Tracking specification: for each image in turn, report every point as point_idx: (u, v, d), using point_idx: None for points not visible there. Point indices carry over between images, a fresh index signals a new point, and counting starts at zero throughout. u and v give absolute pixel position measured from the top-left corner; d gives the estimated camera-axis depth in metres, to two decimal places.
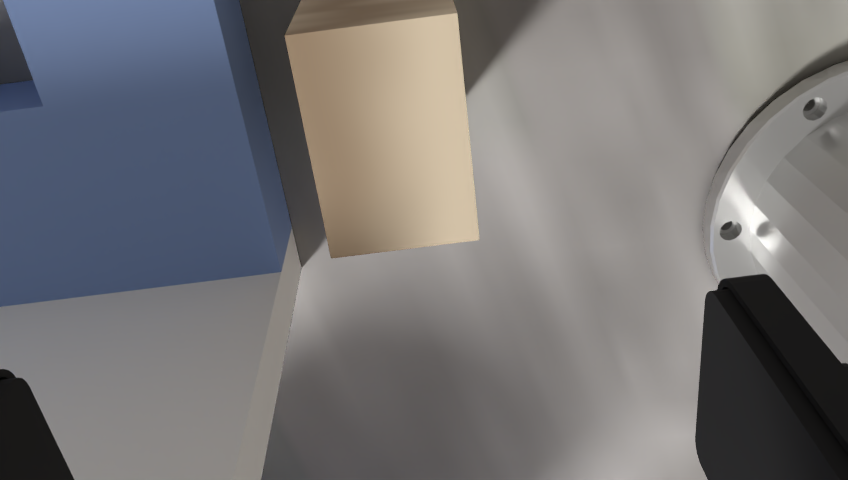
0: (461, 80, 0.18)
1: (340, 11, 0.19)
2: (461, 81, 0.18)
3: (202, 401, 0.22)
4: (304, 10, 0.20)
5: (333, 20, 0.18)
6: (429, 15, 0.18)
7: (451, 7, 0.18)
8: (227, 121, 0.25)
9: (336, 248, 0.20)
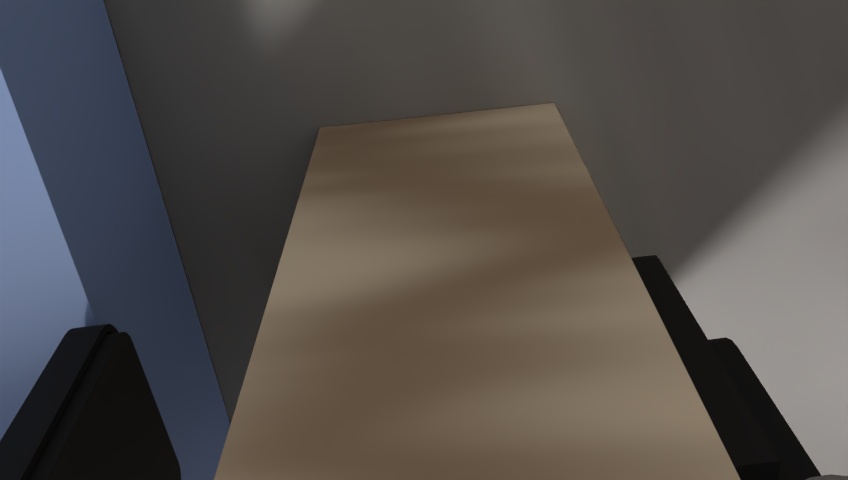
0: None
1: None
2: None
3: None
4: (251, 442, 0.07)
5: None
6: None
7: None
8: None
9: None
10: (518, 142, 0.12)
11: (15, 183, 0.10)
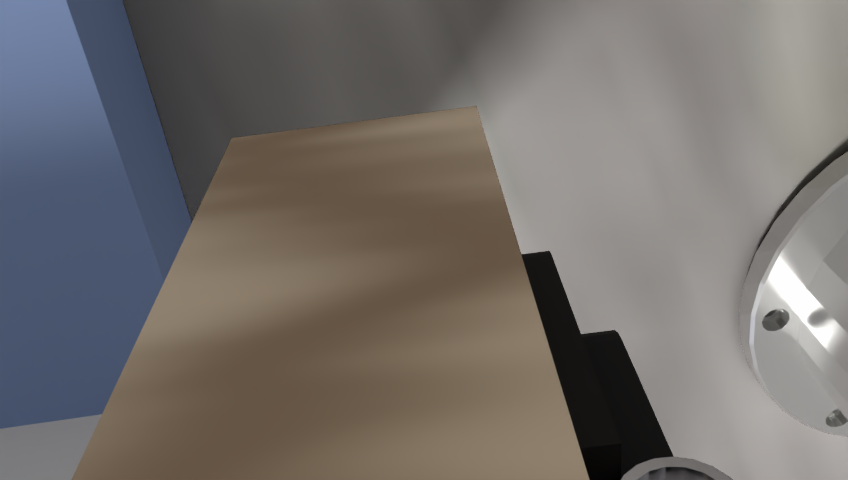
0: None
1: None
2: None
3: None
4: None
5: None
6: None
7: None
8: (118, 217, 0.19)
9: None
10: (433, 150, 0.11)
11: (51, 7, 0.16)
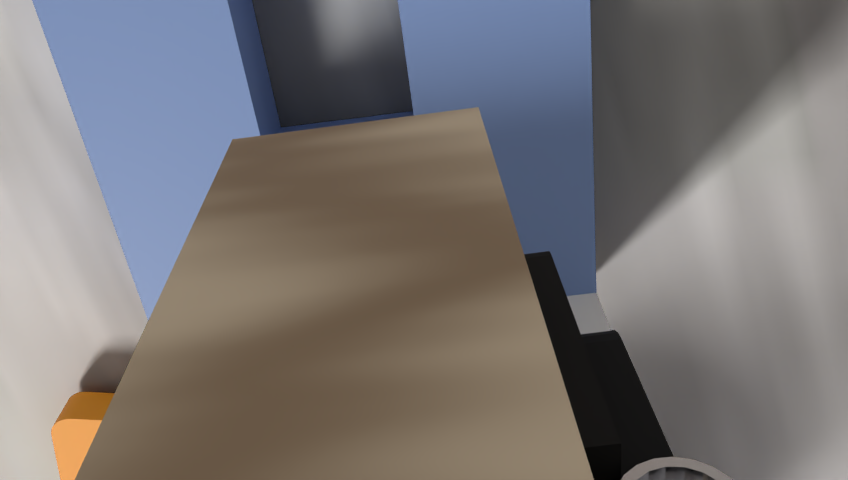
0: None
1: None
2: None
3: None
4: None
5: None
6: None
7: None
8: (578, 157, 0.28)
9: None
10: (434, 152, 0.11)
11: (579, 17, 0.26)
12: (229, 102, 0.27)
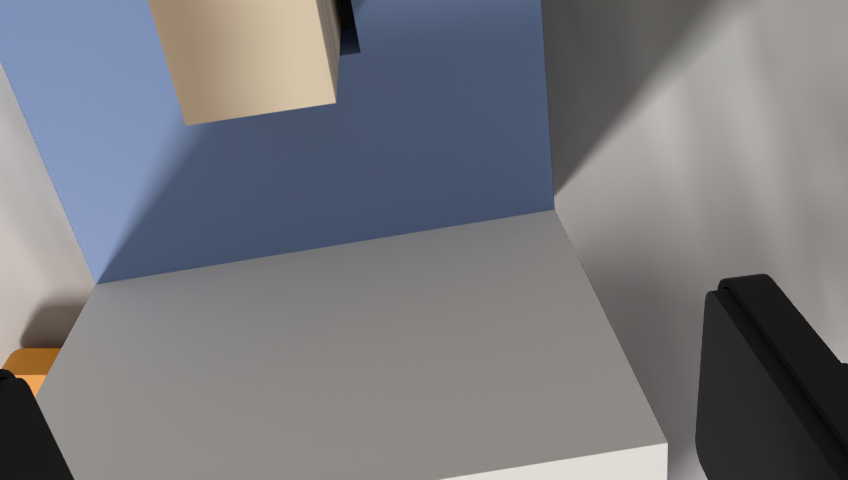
0: None
1: None
2: None
3: (556, 318, 0.24)
4: None
5: None
6: None
7: None
8: (529, 62, 0.27)
9: (190, 114, 0.20)
10: None
11: None
12: None
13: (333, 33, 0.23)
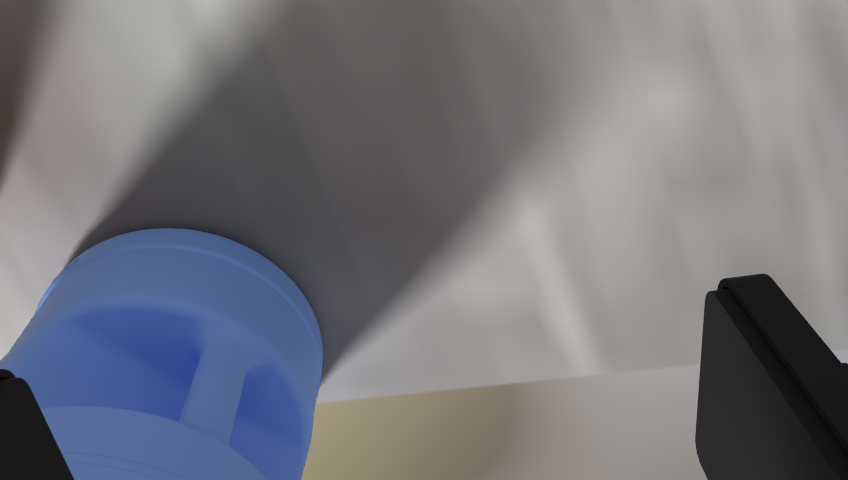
0: None
1: None
2: None
3: None
4: None
5: None
6: None
7: None
8: None
9: None
10: None
11: None
12: None
13: None
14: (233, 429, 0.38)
